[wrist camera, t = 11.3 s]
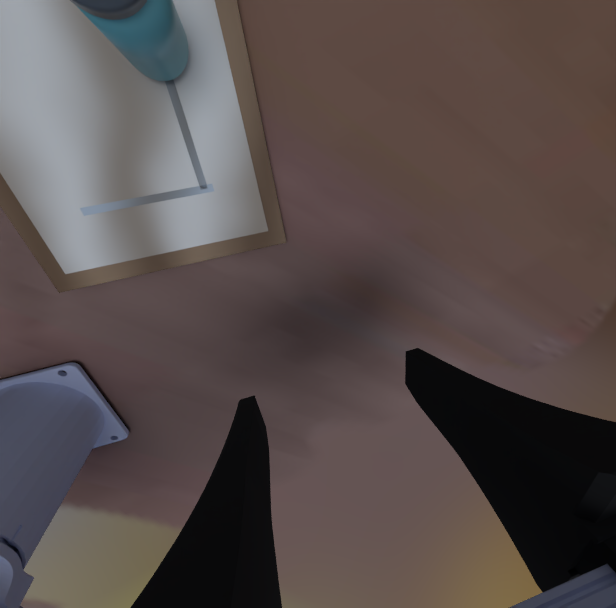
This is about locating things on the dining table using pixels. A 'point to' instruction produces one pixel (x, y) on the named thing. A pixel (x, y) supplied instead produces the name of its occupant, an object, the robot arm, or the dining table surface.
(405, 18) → the dining table surface
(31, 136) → the writing board
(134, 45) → the marker
